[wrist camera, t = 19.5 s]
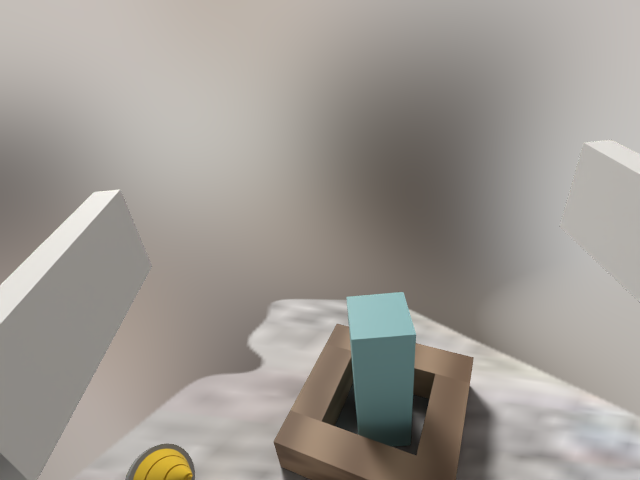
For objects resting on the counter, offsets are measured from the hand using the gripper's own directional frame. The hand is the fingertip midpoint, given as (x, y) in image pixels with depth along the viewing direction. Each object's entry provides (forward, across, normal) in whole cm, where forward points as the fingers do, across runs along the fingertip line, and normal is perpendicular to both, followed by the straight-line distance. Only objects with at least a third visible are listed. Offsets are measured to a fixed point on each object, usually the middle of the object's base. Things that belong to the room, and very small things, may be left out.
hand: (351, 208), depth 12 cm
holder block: (+11, +2, -29) cm, 31 cm away
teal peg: (+11, +3, -29) cm, 31 cm away
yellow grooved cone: (+6, -15, -30) cm, 34 cm away
